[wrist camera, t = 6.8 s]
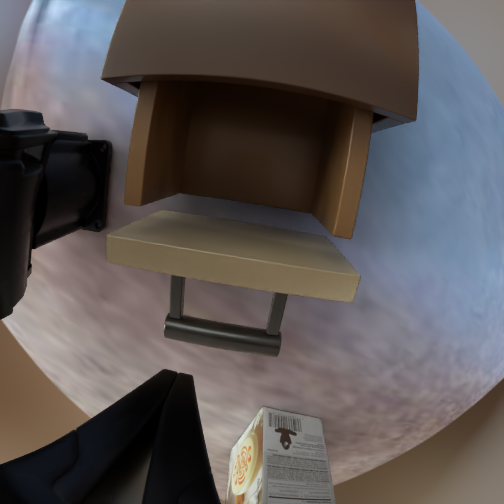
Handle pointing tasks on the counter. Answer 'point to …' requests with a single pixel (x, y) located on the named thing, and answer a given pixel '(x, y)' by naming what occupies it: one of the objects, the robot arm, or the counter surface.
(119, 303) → the counter surface
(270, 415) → the coffee box
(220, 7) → the cabinet
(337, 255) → the drawer
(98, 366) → the counter surface
